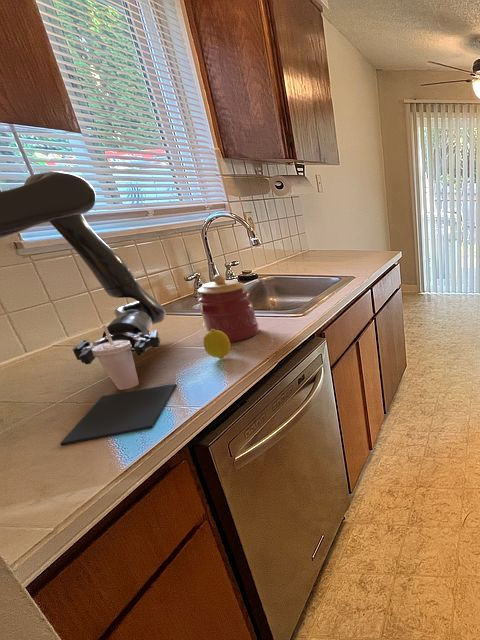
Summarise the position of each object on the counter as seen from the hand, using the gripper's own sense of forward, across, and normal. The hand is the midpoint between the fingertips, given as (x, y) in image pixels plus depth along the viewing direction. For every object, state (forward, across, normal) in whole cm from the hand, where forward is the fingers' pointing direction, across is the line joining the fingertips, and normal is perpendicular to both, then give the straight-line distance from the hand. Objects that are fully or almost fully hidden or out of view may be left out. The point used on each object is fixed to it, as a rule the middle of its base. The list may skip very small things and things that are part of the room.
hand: (112, 355), depth 84 cm
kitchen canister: (-26, +21, +8) cm, 34 cm away
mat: (+12, +2, +8) cm, 15 cm away
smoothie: (-2, 0, +8) cm, 8 cm away
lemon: (-8, +18, +8) cm, 21 cm away
